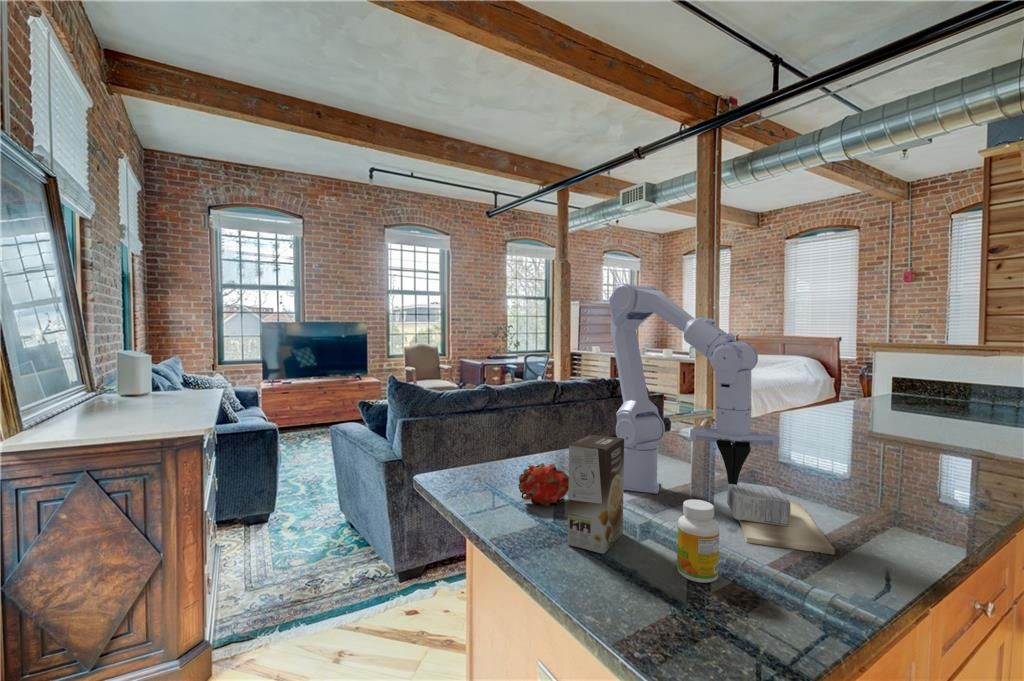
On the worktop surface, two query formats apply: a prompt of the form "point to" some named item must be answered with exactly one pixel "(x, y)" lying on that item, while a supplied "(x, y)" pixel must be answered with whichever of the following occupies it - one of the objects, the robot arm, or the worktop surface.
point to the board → (789, 533)
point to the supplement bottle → (698, 542)
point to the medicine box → (758, 504)
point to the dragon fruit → (543, 484)
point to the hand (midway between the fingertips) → (732, 482)
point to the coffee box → (595, 492)
